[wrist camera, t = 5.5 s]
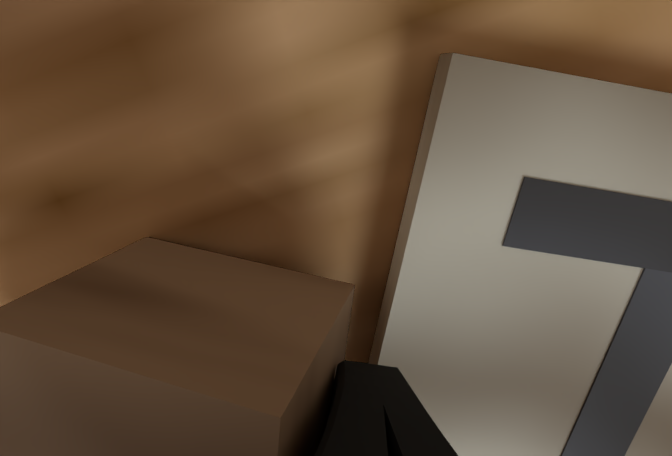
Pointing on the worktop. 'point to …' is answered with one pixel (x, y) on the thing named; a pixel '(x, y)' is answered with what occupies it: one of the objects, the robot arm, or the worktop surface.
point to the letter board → (537, 264)
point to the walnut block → (171, 357)
